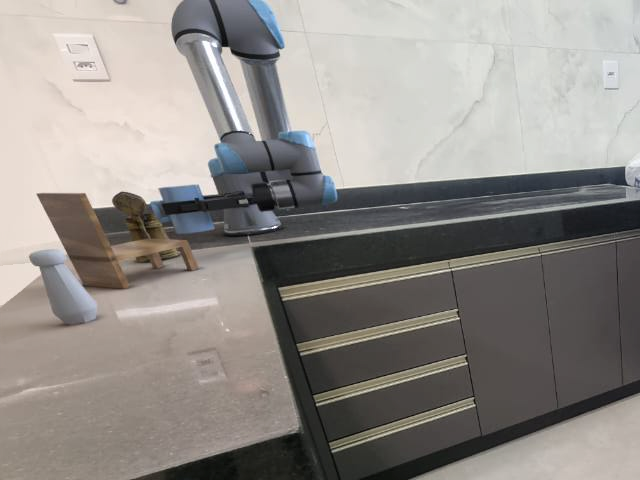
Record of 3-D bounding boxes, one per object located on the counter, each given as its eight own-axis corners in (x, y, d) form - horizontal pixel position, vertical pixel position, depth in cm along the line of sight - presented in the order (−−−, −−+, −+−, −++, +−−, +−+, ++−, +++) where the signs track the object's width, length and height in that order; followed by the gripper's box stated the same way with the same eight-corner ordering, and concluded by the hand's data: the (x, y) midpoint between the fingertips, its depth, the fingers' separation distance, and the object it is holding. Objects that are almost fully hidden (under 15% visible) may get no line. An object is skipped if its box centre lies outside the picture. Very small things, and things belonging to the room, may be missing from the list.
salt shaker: (103, 312, 100) (68, 244, 95) (104, 319, 97) (67, 249, 91) (60, 321, 97) (21, 251, 91) (59, 329, 93) (18, 256, 87)
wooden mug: (131, 267, 132) (96, 193, 125) (139, 257, 143) (107, 188, 135) (176, 261, 137) (145, 189, 129) (180, 251, 147) (152, 184, 139)
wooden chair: (160, 266, 133) (123, 183, 124) (199, 268, 129) (163, 183, 120) (83, 285, 119) (35, 193, 110) (124, 288, 115) (78, 193, 106)
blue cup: (214, 227, 140) (198, 183, 136) (215, 229, 135) (198, 184, 130) (164, 233, 135) (145, 188, 130) (162, 236, 129) (142, 189, 124)
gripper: (280, 214, 136) (169, 228, 124) (273, 206, 152) (173, 217, 140) (270, 184, 133) (155, 195, 121) (263, 178, 149) (161, 188, 137)
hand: (164, 207), depth 131 cm, fingers closed on blue cup, 8 cm apart
